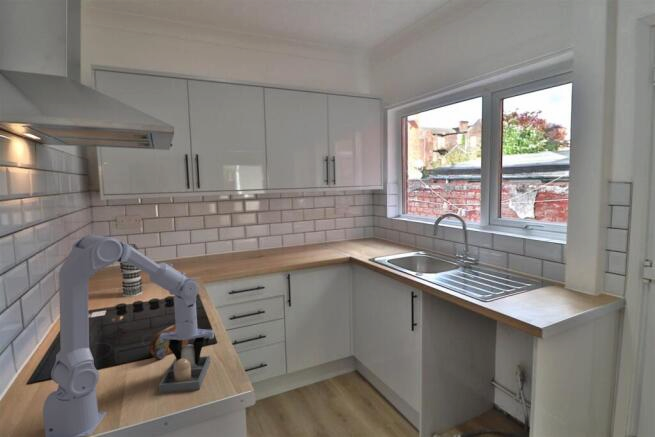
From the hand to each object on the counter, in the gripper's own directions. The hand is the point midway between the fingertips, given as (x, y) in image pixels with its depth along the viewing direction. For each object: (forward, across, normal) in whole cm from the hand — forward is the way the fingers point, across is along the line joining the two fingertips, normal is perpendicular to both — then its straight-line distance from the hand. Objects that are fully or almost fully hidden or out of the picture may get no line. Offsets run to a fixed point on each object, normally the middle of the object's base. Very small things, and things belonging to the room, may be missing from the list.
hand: (189, 363), depth 103 cm
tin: (+3, +9, -14) cm, 17 cm away
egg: (+1, 0, 0) cm, 1 cm away
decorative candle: (+3, +47, -80) cm, 93 cm away
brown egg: (+2, 0, +7) cm, 7 cm away
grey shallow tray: (+3, 0, +3) cm, 4 cm away
